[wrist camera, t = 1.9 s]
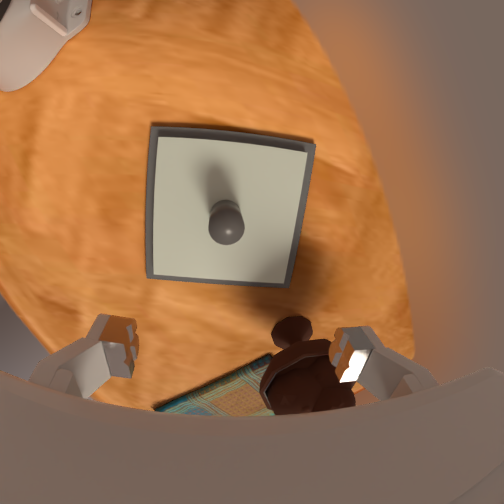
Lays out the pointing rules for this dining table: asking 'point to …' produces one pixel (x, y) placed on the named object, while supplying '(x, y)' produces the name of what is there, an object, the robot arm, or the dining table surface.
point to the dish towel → (226, 395)
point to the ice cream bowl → (302, 373)
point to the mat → (231, 137)
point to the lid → (225, 209)
